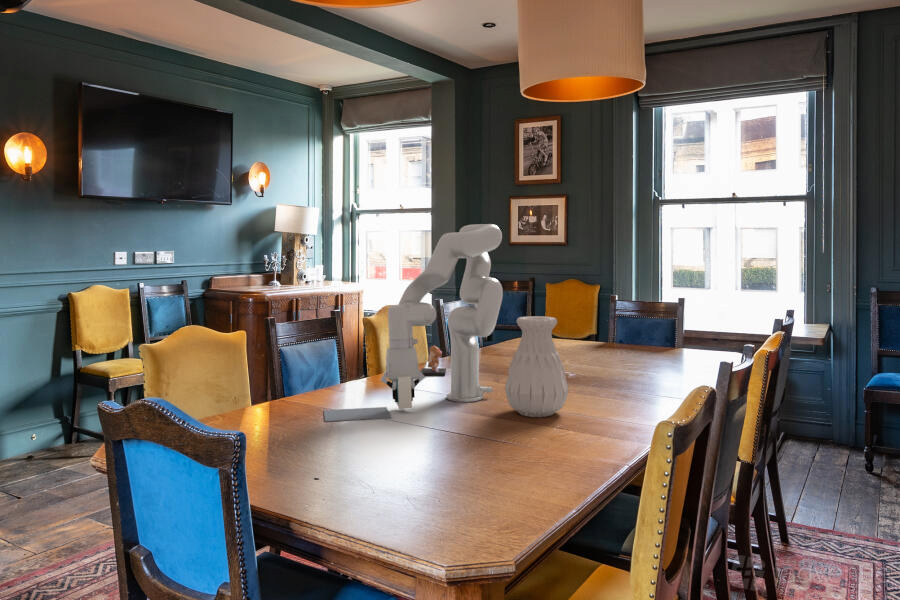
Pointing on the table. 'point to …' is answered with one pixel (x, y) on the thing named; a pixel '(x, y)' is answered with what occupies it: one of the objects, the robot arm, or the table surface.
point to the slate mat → (356, 414)
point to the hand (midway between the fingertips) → (403, 400)
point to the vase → (536, 370)
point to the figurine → (434, 363)
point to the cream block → (404, 392)
